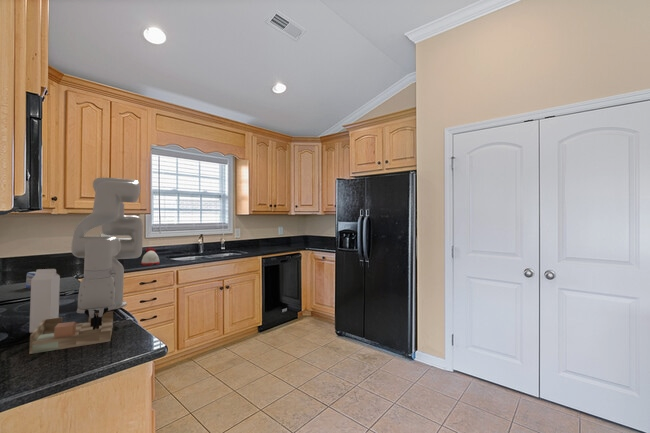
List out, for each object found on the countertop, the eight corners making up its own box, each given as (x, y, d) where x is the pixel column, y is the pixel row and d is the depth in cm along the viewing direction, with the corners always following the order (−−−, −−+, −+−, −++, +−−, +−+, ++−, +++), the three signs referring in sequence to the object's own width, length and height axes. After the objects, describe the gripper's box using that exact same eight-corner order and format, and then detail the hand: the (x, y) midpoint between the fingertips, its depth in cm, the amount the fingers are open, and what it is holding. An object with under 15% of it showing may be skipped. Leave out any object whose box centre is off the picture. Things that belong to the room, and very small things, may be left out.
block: (58, 335, 100) (58, 323, 101) (75, 333, 103) (75, 321, 103) (53, 340, 97) (54, 327, 97) (72, 338, 99) (72, 325, 99)
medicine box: (25, 288, 174) (26, 272, 174) (34, 286, 178) (35, 271, 178) (36, 289, 172) (36, 273, 172) (45, 287, 176) (45, 272, 176)
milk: (49, 331, 111) (51, 270, 111) (28, 332, 109) (31, 270, 109) (58, 325, 116) (60, 267, 116) (38, 326, 114) (40, 268, 115)
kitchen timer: (140, 263, 273) (141, 246, 273) (157, 262, 281) (158, 246, 281) (142, 265, 262) (143, 247, 262) (160, 264, 270) (161, 247, 270)
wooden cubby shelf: (43, 335, 107) (43, 319, 107) (112, 325, 118) (113, 311, 118) (29, 353, 92) (30, 335, 92) (110, 341, 103) (110, 324, 103)
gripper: (124, 271, 112) (122, 321, 112) (71, 274, 104) (69, 328, 104) (123, 274, 106) (122, 327, 106) (67, 278, 98) (65, 335, 97)
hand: (96, 328), depth 105 cm, fingers closed
